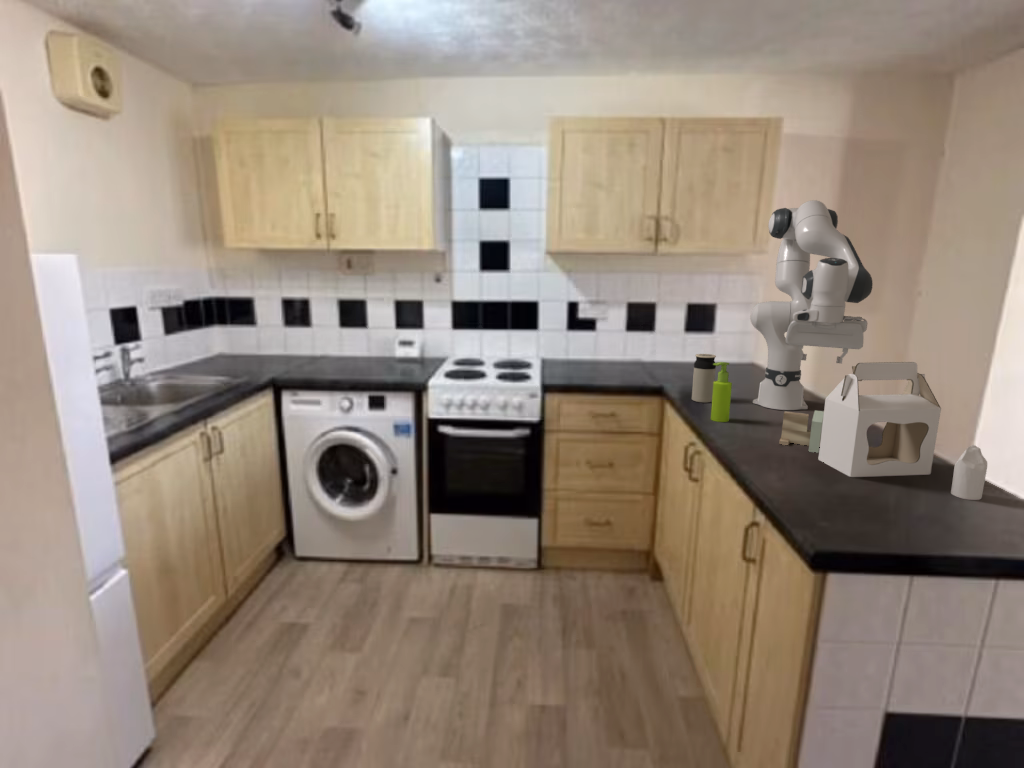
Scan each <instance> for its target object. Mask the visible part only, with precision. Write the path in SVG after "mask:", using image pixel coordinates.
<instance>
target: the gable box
mask: <svg viewBox="0 0 1024 768" xmlns="http://www.w3.org/2000/svg"><path fill="white" fill-rule="evenodd" d="M851 369H852V373H849V374H847V375H845V376H844V378H843V379H842V380H841V381H840V382H839V383H838V384H837V385H836V386H835V388H834V389H832V391H831V392H830V393H829V394H828V396H826V398H824V399H825V400H824V408H823V409H824V410H823V411H824V416H823V424H822V432H821V441H820V448H819V452H818V457H817V458H818V459H817V460H818V461H819V462H822V463H823V462H824V463H823V464H826V465H827V466H829V467H831V468H832V469H835V470H837V471H838V472H840V473H842V474H843V475H845V476H847V477H849V478H864V477H865V478H866V477H867V478H870V477H872V478H873V477H895V476H896V477H897V476H898V477H899V476H903V477H904V476H923V475H924V476H925V475H926V476H927V475H928V476H929V475H930V476H931V473H932V466H933V460H934V454H935V449H936V448H935V447H936V441H937V435H938V430H939V424H940V417H941V411H942V407H941V406H940V404H939V402H938V400H937V398H936V396H935V395H934V393H933V391H932V389H931V387H930V386H929V384H928V382H927V380H926V374H925V373H919V372H918V363H917V362H914V361H896V362H895V361H892V362H891V361H889V362H887V361H886V362H880V361H879V362H858V363H856V365H854V366H853V365H852V366H851ZM898 380H901V381H902V380H904V381H907V383H906V385H905V387H904V390H903V392H902V394H900V393H899V394H859V392H860V391H859V382H862V381H898ZM876 423H877V424H878V423H885V426H884V428H883V430H882V433H881V434H882V435H881V438H882V439H881V443H880V444H879V445H878V446H869V441H868V438H867V437H868V436H867V435H868V434H867V431H868V429H869V428H870V426H872V425H874V424H876Z"/></svg>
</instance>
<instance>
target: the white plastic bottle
mask: <svg viewBox="0 0 1024 768" xmlns="http://www.w3.org/2000/svg"><path fill="white" fill-rule="evenodd" d="M987 469H988V461H987V459H986V458H985V456H984V455H983V454H982V449H981V448H980V447H979V446H976V445H975V444H972V445H969V446H967V448H966V449H965V450H964V451H963V452H962V454H961V455H960V456H959V457H958V460H957V461H956V462H955V464H954V469H953V474H952V475H953V477H952V484H951V488H950V489H951V490H950V494H951V495H952V496H954V497H957V498H960V499H962V500H967V501H968V500H970V501H980V500H981V499H982V498H983V493H984V492H983V491H984V487H985V480H986V477H987V476H986V475H987V472H988V471H987Z"/></svg>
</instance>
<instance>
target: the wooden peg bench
mask: <svg viewBox="0 0 1024 768" xmlns="http://www.w3.org/2000/svg"><path fill="white" fill-rule="evenodd" d="M809 416H810V415H809V413H802V412H792V411H787V410H784V412H783V417H782V426H781V436H780V438H779V443H778V445H779V444H782V445H781V446H785V445H788V446H789V444H790V443H794V444H793V445H797V444H800V445H799V446H804V445H807V446H806V447H809V442H810V434H811V429H808V425H809ZM820 441H821V437H820ZM819 447H820V446H819Z"/></svg>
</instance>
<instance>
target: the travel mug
mask: <svg viewBox="0 0 1024 768" xmlns="http://www.w3.org/2000/svg"><path fill="white" fill-rule="evenodd" d="M694 357H695V359H696V360H695V361H694V363H693V375H692V376H693V377H692V389H691V390H692V391H691V400H692V401H694V402H695V403H705V404H706V403H712V395H713V382H714V381H716V379H715V378H716V369H717V366H715V365H713V364H714V363H716V361H715V358H716V357H717V356H716V354H713V353H712V354H711V353H696V354H695V356H694Z"/></svg>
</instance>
